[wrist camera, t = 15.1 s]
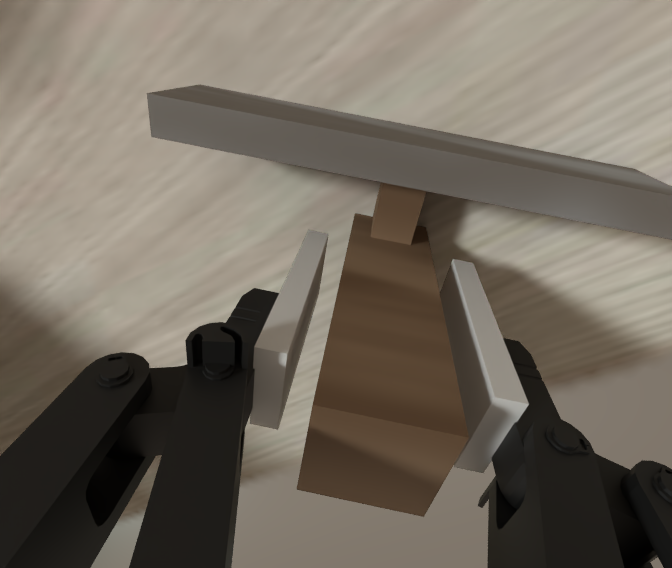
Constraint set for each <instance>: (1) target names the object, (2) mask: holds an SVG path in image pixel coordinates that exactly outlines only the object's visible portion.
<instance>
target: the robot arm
mask: <svg viewBox="0 0 672 568" xmlns="http://www.w3.org/2000/svg"><path fill="white" fill-rule="evenodd" d="M327 240H328V234H327V233H322V232H317V231H312V230H308V232H307V234H306V236H305V239H304V241H303V243H302V245H301V247H300V249H299V252H298V254H297V256H296V258H295V260H294V262H293V265H292V267H291V269H290V271H289V273H288V275H287V277H286V280H285V282H284V284H283V286H282V288H281V290H280V293H275V292H271V291H266V290H261V289H256V288H254V289H252V290H251V291H249V292H248V293H246V294H245V295H243V296H242V297H241V299H240V301H239V302H238V304H237V306H236V308H235V309H234V310H233V312H232V314H231V316H230V317H229V319H228V320H227V322H226V323H223V322H219V323H209V324H206V325H203V326H200V327H198V328H197V329H195V330H194V331H192V332H191V333H190V334H189V336H188V337H187V339H186V352H187V365H184V366H178V367H166V368H149V363H148V362H147V361H146V360H145V359H144V358H143V357H142V356H139V355H137V354H134V353H122V352H121V353H116V354H110V355H107V356H105V357H102V358H100V359H97V360H96V361H94V362H93V363H92V364H90V365H89V366H88V367H86V368H85V369H84V370H83V371H82V372H81V373H80V374H79V375H78V376H77V378H76V379H75V380H74V381H73V382H72V383H71V384H70V385H69V386H68V387H67V388H66V389H65V390H64V391H63V392H62V393H61V394H60V395H59V396H58V397H57V398H56V399H55V400H54V401H53V402H52V403H51V404H50V405H49V406H48V407H47V408H46V409H45V410H44V411H43V413H42V414H41V415H40V416H39V417H38V418H37V419H36V420H35V421H34V422H33V423H32V424H31V425H30V426H29V427H28V428H27V429H26V430H25V431H24V432H23V433H22V434H21V435H20V436H19V437H18V438H17V439H16V440H15V441H14V442H13V443H12V444H11V445H10V447H9V448H8V449H7V450H6V451H5V452H4V453H3V454H2V455H1V456H0V568H90V567H91V565H92V564H93V562H94V560H95V559H96V557H97V555H98V554H99V552H100V550H101V548H102V547H103V545H104V543H105V542H106V540H107V538H108V536H109V535H110V533H111V531H112V529H113V528H114V526H115V524H116V523H117V521H118V519H119V518H120V516H121V514H122V512H123V511H124V509H125V507H126V506H127V504H128V502H129V501H130V499H131V497H132V495H133V494H134V492H135V490H136V489H137V487H138V485H139V483H140V482H141V480H142V478H143V477H144V475H145V473H146V471H147V470H148V468H149V466H150V465H151V463H152V461H153V460H154V458H155V456H156V455H162V457H161V461H160V464H159V467H158V471H157V474H156V478H155V481H154V484H153V488H152V491H151V495H150V498H149V501H148V505H147V508H146V512H145V515H144V519H143V522H142V526H141V529H140V532H139V536H138V539H137V542H136V546H135V550H134V553H133V556H132V560H131V563H130V566H129V568H231V564H232V555H233V544H234V535H235V524H236V515H237V505H238V496H239V486H240V476H241V466H242V456H243V447H244V435H245V426H246V424H247V421H248V419H249V416H250V424H254V425H259V426H264V427H269V428H273V429H278V428H279V425H280V422H281V418H282V415H283V412H284V408H285V405H286V402H287V398H288V395H289V391H290V388H291V385H292V381H293V378H294V375H295V371H296V368H297V365H298V361H299V358H300V355H301V351H302V348H303V345H304V341H305V338H306V335H307V331H308V328H309V324H310V321H311V318H312V314H313V311H314V308H315V304H316V301H317V298H318V294H319V289H320V283H321V277H322V271H323V265H324V258H325V252H326V246H327ZM440 298H441V303H442V308H443V313H444V318H445V322H446V327H447V332H448V337H449V342H450V347H451V352H452V357H453V362H454V367H455V371H456V376H457V381H458V386H459V391H460V396H461V401H462V406H463V411H464V416H465V421H466V425H467V430H468V435H469V439H468V440H467V442H466V444H465V446H464V447H463V449H462V451H461V453H460V454H459V456H458V458H457V460H456V461H455V463H454V467H457V468H461V469H466V470H471V471H476V472H481V473H483V472H484V471H485V469H486V468H487V467H488V465H489V464H490V462H491V461H492V462H493V466H494V469H495V474H496V476H495V478H494V479H493V481H492V482H491V483H490V485H489V486H488V488H487V489H486V490H485V492H484V493H483V495H482V496H481V498H480V500H479V504H478V506H479V507H481V508H482V507H483V506H484V505H485V503H486V502H487V501H488V499H489V521H488V568H653V567H652V565H651V563H650V562H651V561H653V560H654V559H655V558H657V557H658V558H659V560H660V561H661V563H662V565H663V567H664V568H672V469H670V468H669V467H667V466H665V465H662V464H660V463H657V462H654V461H641V462H639V463H638V464H636V465H635V466H634V467H633V468H632V469H631V470H629V469H627V468H625V467H623V466H621V465H619V464H616V463H614V462H612V461H610V460H608V459H606V458H603V457H601V456H599V455H597V454H595V453H594V451H593V449H592V446H591V444H590V442H589V441H588V440H587V439H586V438H585V437H584V435H583V434H582V433H581V432H580V431H578V430H577V429H576V428H575V427H573V426H572V425H571V424H569V423H567V422H565V421H563V420H561V419H560V416H559V414H558V412H557V410H556V408H555V405H554V403H553V401H552V399H551V397H550V395H549V393H548V390H547V388H546V386H545V384H544V382H543V381H542V380H541V379H542V378H541V375H540V373H539V371H538V370H536V368H537V367H536V365H535V363H534V360H533V358H532V356H531V354H530V353H529V352H528V351H527V350H526V349H525V348H524V347H523V345H522V344H521V343H520V342H519V341H515V340H510V339H505V338H503V337H502V335H501V332H500V330H499V327H498V325H497V322H496V319H495V317H494V314H493V312H492V309H491V307H490V304H489V302H488V299H487V297H486V294H485V292H484V289H483V287H482V284H481V281H480V279H479V276H478V274H477V271H476V269H475V266H474V264H473V263H471V262H466V261H461V260H456V259H453V260H452V263H451V265H450V268H449V271H448V273H447V276H446V279H445V281H444V284H443V287H442V289H441V292H440ZM250 413H251V414H250Z"/></svg>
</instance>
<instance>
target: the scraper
mask: <svg viewBox="0 0 672 568" xmlns="http://www.w3.org/2000/svg"><path fill="white" fill-rule="evenodd" d="M147 99H148V108H149V118H150V128H151V137H155V138H160V139H165V140H170V141H175V142H180V143H185V144H190V145H195V146H200V147H205V148H210V149H215V150H221V151H226V152H231V153H236V154H241V155H246V156H251V157H256V158H261V159H266V160H271V161H276V162H281V163H286V164H291V165H296V166H302V167H307V168H312V169H317V170H322V171H327V172H332V173H337V174H342V175H347V176H352V177H357V178H362V179H367V180H372V181H378V182H381V183H380V188H379V192H378V196H377V201H376V205H375V210H374V214H373V217H370V216H365V215H360V214H355V216H354V221H353V225H352V230H351V234H350V239H349V243H348V248H347V252H346V257H345V261H344V266H343V270H342V275H341V279H340V284H339V288H338V293H337V298H336V302H335V307H334V311H333V316H332V320H331V325H330V329H329V334H328V338H327V343H326V347H325V352H324V356H323V361H322V365H321V370H320V374H319V379H318V383H317V388H316V392H315V397H314V401H313V406H312V411H311V417H310V422H309V427H308V432H307V438H306V443H305V448H304V453H303V459H302V464H301V469H300V475H299V480H298V485H297V490H302V491H306V492H312V493H316V494H320V495H325V496H330V497H334V498H339V499H344V500H348V501H353V502H358V503H362V504H367V505H372V506H376V507H381V508H385V509H390V510H395V511H399V512H404V513H409V514H414V515H418V516H424V515H425V513H426V512H427V510H428V508H429V507H430V505H431V503H432V501H433V499H434V498H435V496H436V494H437V493H438V491H439V489H440V487H441V486H442V484H443V482H444V480H445V479H446V477H447V475H448V473H449V472H450V470H451V468H452V467H453V465H454V463H455V461H456V460H457V458H458V456H459V454H460V453H461V451H462V449H463V447H464V446H465V444H466V442H467V440H468V439H469V435H468V430H467V425H466V421H465V416H464V411H463V406H462V401H461V396H460V391H459V386H458V381H457V376H456V371H455V367H454V362H453V357H452V352H451V347H450V342H449V337H448V332H447V327H446V322H445V318H444V313H443V308H442V303H441V298H440V293H439V288H438V283H437V278H436V273H435V269H434V264H433V259H432V254H431V249H430V244H429V239H428V234H427V229H426V227H421V226H416V225H417V222H418V218H419V215H420V212H421V208H422V205H423V202H424V198H425V195H426V192H427V191H428V192H433V193H438V194H443V195H448V196H453V197H459V198H464V199H469V200H474V201H479V202H484V203H489V204H494V205H499V206H504V207H509V208H514V209H519V210H524V211H529V212H534V213H540V214H545V215H550V216H555V217H560V218H565V219H570V220H575V221H580V222H585V223H590V224H595V225H600V226H605V227H610V228H616V229H621V230H626V231H631V232H636V233H641V234H646V235H651V236H656V237H661V238H666V239H671V240H672V186H670V185H667V184H665V183H663V182H661V181H659V180H657V179H655V178H653V177H651V176H648V175H646V174H644V173H642V172H640V171H638V170H636V169H632V168H627V167H621V166H616V165H611V164H606V163H601V162H596V161H591V160H585V159H580V158H575V157H570V156H565V155H560V154H554V153H549V152H544V151H539V150H534V149H529V148H524V147H518V146H513V145H508V144H503V143H498V142H493V141H487V140H482V139H477V138H472V137H467V136H462V135H457V134H451V133H446V132H441V131H436V130H431V129H426V128H420V127H415V126H410V125H405V124H400V123H395V122H390V121H384V120H379V119H374V118H369V117H364V116H359V115H354V114H348V113H343V112H338V111H333V110H328V109H323V108H317V107H312V106H307V105H302V104H297V103H292V102H287V101H281V100H276V99H271V98H266V97H261V96H256V95H250V94H245V93H240V92H235V91H230V90H225V89H220V88H214V87H209V86H204V85H195V86H188V87H182V88H176V89H170V90H164V91H158V92H152V93H147Z"/></svg>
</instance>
